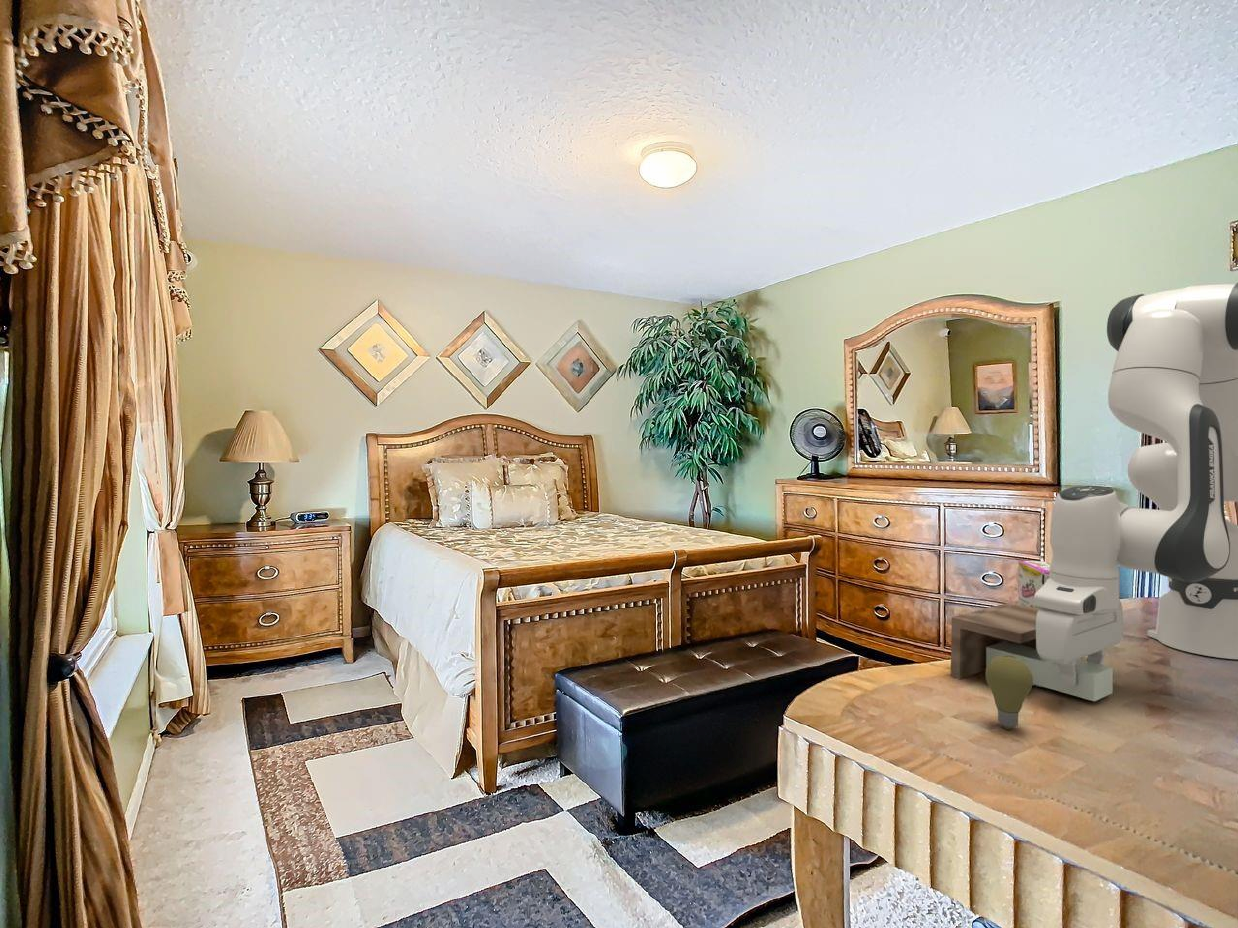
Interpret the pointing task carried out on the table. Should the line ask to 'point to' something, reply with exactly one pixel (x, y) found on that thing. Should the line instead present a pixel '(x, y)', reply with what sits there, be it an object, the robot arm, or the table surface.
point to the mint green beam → (1058, 671)
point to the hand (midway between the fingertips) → (1081, 680)
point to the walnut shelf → (989, 635)
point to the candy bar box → (1031, 580)
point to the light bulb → (1008, 687)
